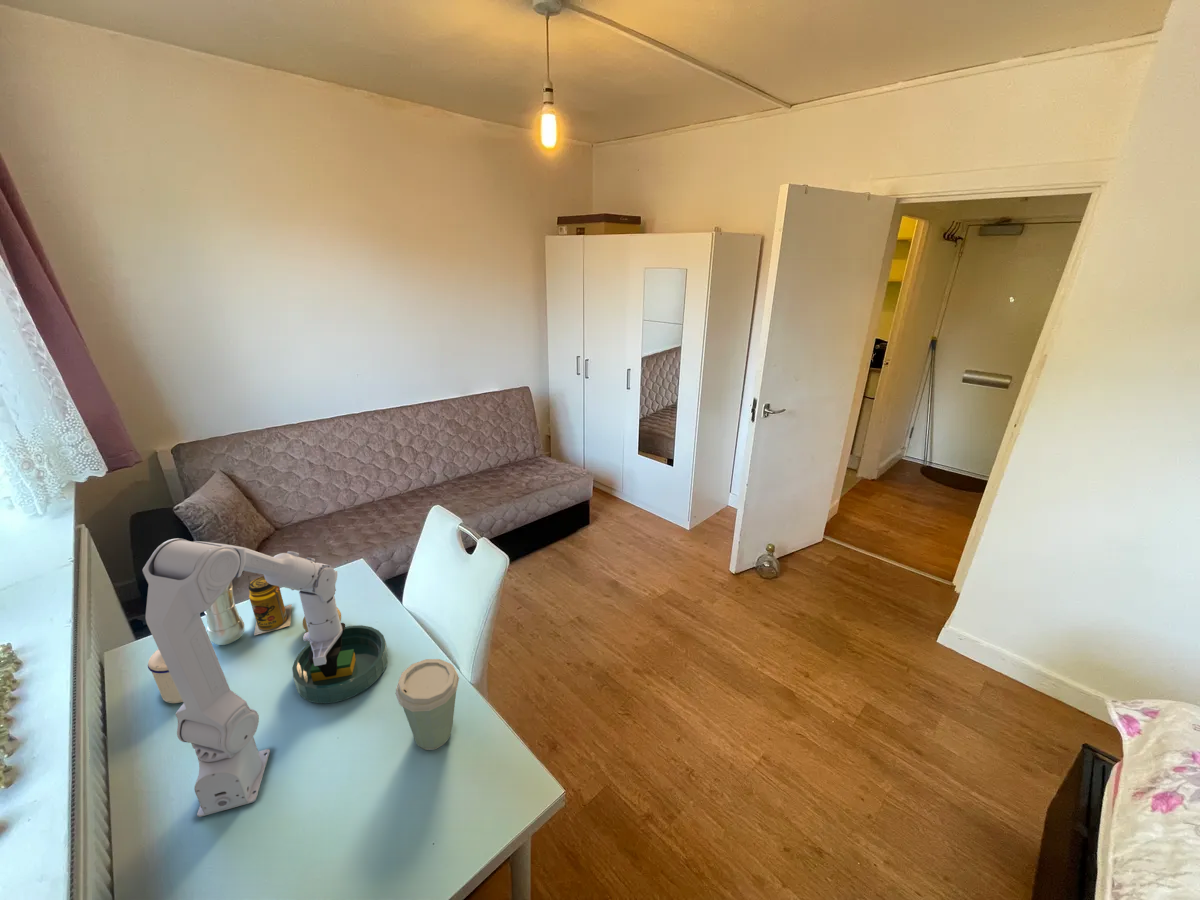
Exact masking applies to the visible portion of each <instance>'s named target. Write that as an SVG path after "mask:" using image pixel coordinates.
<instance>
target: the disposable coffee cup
mask: <svg viewBox="0 0 1200 900" xmlns="http://www.w3.org/2000/svg"><path fill="white" fill-rule="evenodd" d="M459 680H460V676H459V674H458V672H457V670H456V668H455V666H454V664H452V663H450V662H448V661H445V660H443V659H441V658H427V659H426V658H425V659H422V660H419V661H417V662H415V663H412V664H411V665H409V666H408V667H407V668H406V669H404V671H403V672H401V674H400V676H399V679H398V682H397V685H396V687H395V696H396V699H397V702H398V703H399V705H400V706H401V707H402V709H403V712H404V714H405V717H406V719H407V722H408V725H409V728H410V730H411V733H412V735H413V738H414V741H415V744H416V745H417V746H418V747H419V748H421V749H423V750H425V751H431V750H432V751H433V750H437V749H438V748H440V747H443V746H444V745H445V744H446V742H447V741H448V740H449V739H450V736H451V735H452V730H453V725H454V716H455V707H456V706H455V705H456V696H457V690H458V686H459Z"/></svg>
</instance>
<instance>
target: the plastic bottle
mask: <svg viewBox="0 0 1200 900" xmlns="http://www.w3.org/2000/svg"><path fill="white" fill-rule="evenodd" d="M233 587H234V586H233V580H232V581H231V583H230V584H229V585H228V586H227V587H226V589H225V590H224V591H223V592H222V593H221V595H220V596H219V597H218V598H217V599H216V601H215V602H214V603H213V604H212V605H211V607H210V608H209V609H208V610H206V611H204V612H203V613H204V614H205V619H206V623H207V634H208V636H209V639H210V641H211V644H213V645H217V646H225V645H229V644H231V643H233V642H236V641H237V640H239V639H240V638H241V637H242V636H243V634H244V632H245V622H244V620H243V618H242V616H241V615H240V613H239V611H238V609H237V606H236V602H235V597H234V588H233Z"/></svg>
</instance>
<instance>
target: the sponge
mask: <svg viewBox="0 0 1200 900" xmlns="http://www.w3.org/2000/svg"><path fill="white" fill-rule="evenodd" d="M355 660H356V658H355V653H354V649H351V650H345V651H340V652H339V655H338V657H337V673H336V675H335V676H330V677H325V676H324V675H323V673H322V672H321V670H320V669H319V668H318V667H317V666H314V664H312V667H311V670H310V672H311V677H312V681H313V682H314V681H319V680H325V679H331V678H337V677H343V676H348V675H352V673H353V669H354V664H355Z"/></svg>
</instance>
